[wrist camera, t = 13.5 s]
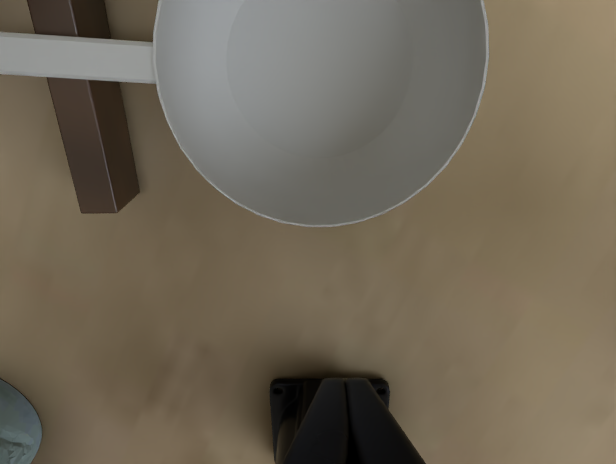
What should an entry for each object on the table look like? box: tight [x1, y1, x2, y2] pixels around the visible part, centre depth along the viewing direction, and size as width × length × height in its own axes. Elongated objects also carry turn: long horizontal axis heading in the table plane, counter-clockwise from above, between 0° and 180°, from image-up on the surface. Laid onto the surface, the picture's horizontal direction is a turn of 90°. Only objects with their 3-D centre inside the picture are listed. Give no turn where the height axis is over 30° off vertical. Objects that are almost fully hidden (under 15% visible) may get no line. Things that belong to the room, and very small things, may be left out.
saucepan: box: [0, 0, 489, 227], centre depth 16 cm, size 11×18×4 cm, turn 86°
